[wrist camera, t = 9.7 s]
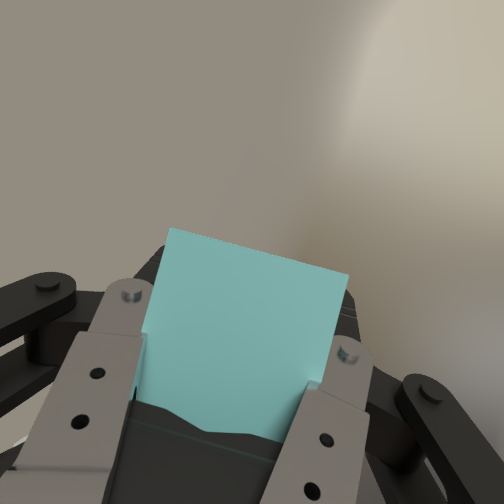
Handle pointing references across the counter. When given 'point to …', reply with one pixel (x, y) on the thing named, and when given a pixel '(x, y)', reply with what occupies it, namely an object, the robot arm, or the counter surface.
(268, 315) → the teal square bar
